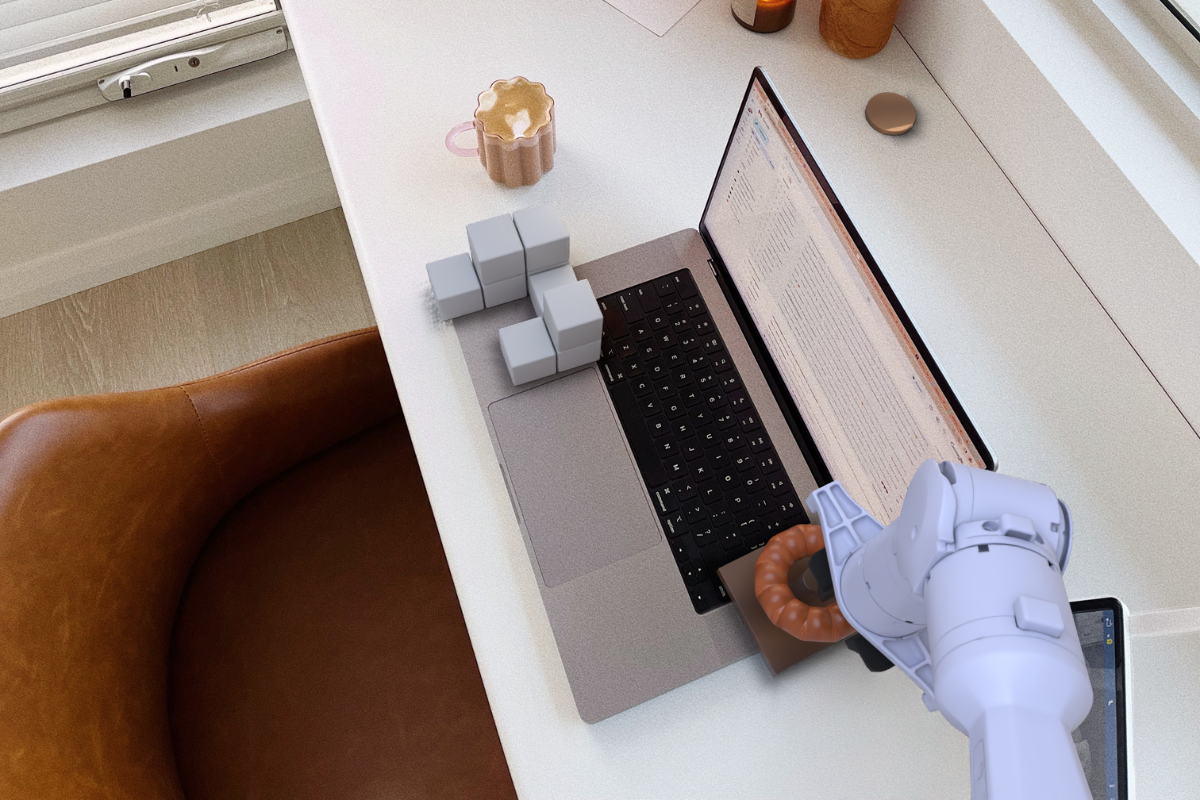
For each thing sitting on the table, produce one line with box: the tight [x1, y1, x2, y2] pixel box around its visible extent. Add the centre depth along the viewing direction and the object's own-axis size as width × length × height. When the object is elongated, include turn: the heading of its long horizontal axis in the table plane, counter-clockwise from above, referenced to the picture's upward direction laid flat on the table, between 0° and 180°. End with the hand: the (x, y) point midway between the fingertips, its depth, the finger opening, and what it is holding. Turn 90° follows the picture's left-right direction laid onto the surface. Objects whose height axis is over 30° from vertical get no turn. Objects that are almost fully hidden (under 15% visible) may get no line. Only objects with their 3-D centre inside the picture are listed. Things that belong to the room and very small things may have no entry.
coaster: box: [864, 91, 917, 136], centre depth 92 cm, size 5×5×1 cm
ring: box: [755, 523, 858, 643], centre depth 66 cm, size 9×9×2 cm
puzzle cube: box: [425, 200, 604, 387], centre depth 78 cm, size 12×12×8 cm
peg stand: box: [716, 521, 858, 677], centre depth 70 cm, size 9×9×7 cm
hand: (844, 615), depth 64 cm, fingers open, 3 cm apart
